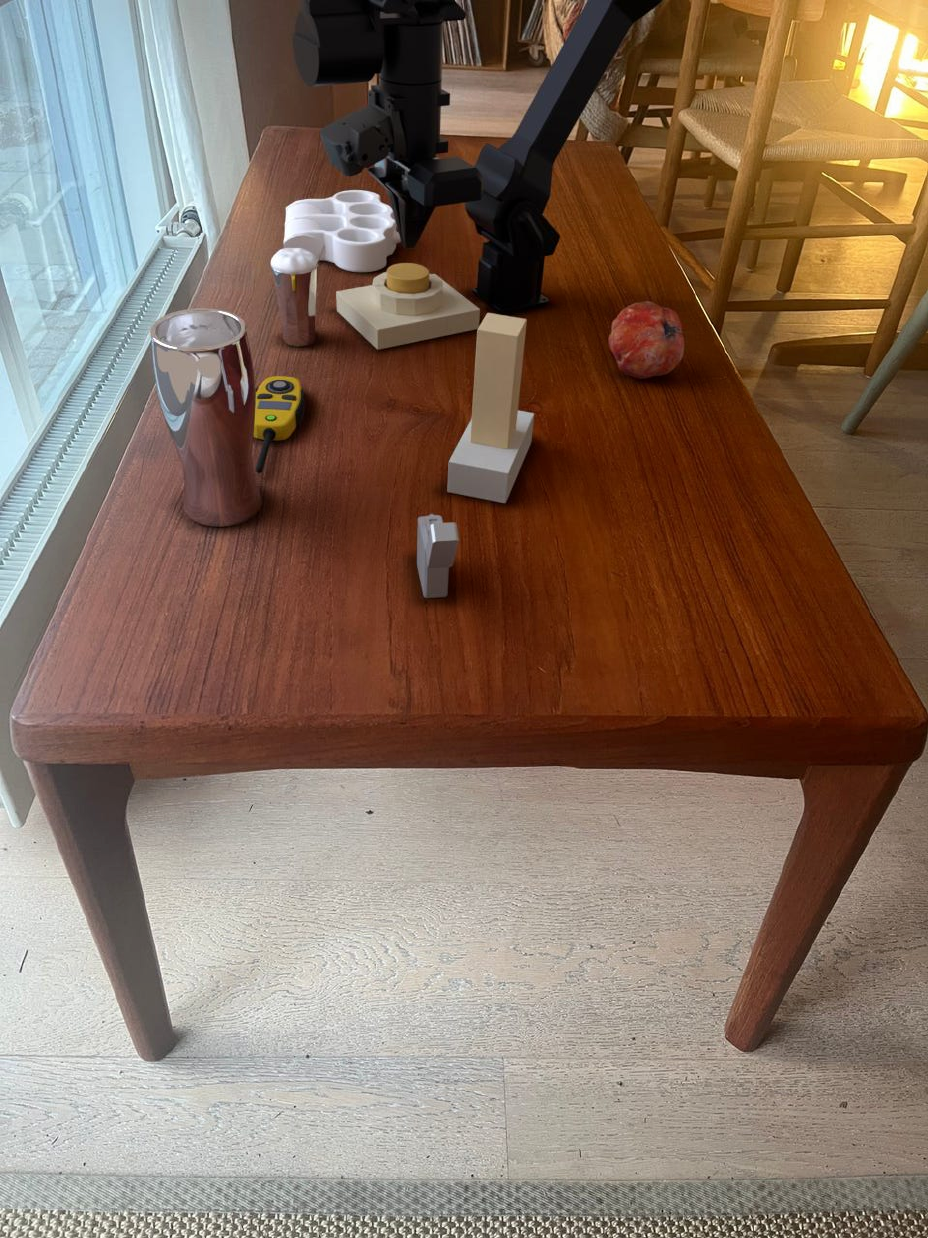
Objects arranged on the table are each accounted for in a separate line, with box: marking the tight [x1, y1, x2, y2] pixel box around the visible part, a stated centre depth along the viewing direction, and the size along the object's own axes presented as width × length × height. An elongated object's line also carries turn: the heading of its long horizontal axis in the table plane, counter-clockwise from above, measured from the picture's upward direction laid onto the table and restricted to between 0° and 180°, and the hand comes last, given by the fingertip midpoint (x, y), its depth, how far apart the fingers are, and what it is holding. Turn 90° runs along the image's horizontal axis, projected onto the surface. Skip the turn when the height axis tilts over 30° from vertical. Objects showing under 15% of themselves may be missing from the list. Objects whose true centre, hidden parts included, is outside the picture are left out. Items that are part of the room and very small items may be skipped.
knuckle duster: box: [283, 189, 401, 273], centre depth 119 cm, size 3×18×15 cm
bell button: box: [386, 262, 430, 294], centre depth 102 cm, size 4×4×2 cm
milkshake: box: [270, 246, 324, 348], centre depth 96 cm, size 4×5×10 cm
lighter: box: [416, 513, 460, 599], centre depth 69 cm, size 7×2×8 cm, turn 10°
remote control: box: [253, 375, 306, 474], centre depth 86 cm, size 5×2×15 cm
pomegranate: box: [608, 300, 685, 380], centre depth 96 cm, size 7×7×10 cm
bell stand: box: [335, 271, 481, 351], centre depth 103 cm, size 12×10×4 cm
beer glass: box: [149, 307, 263, 528], centre depth 73 cm, size 7×7×15 cm
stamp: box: [446, 312, 535, 504], centre depth 80 cm, size 5×10×13 cm, turn 165°
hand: (408, 247), depth 99 cm, fingers closed
